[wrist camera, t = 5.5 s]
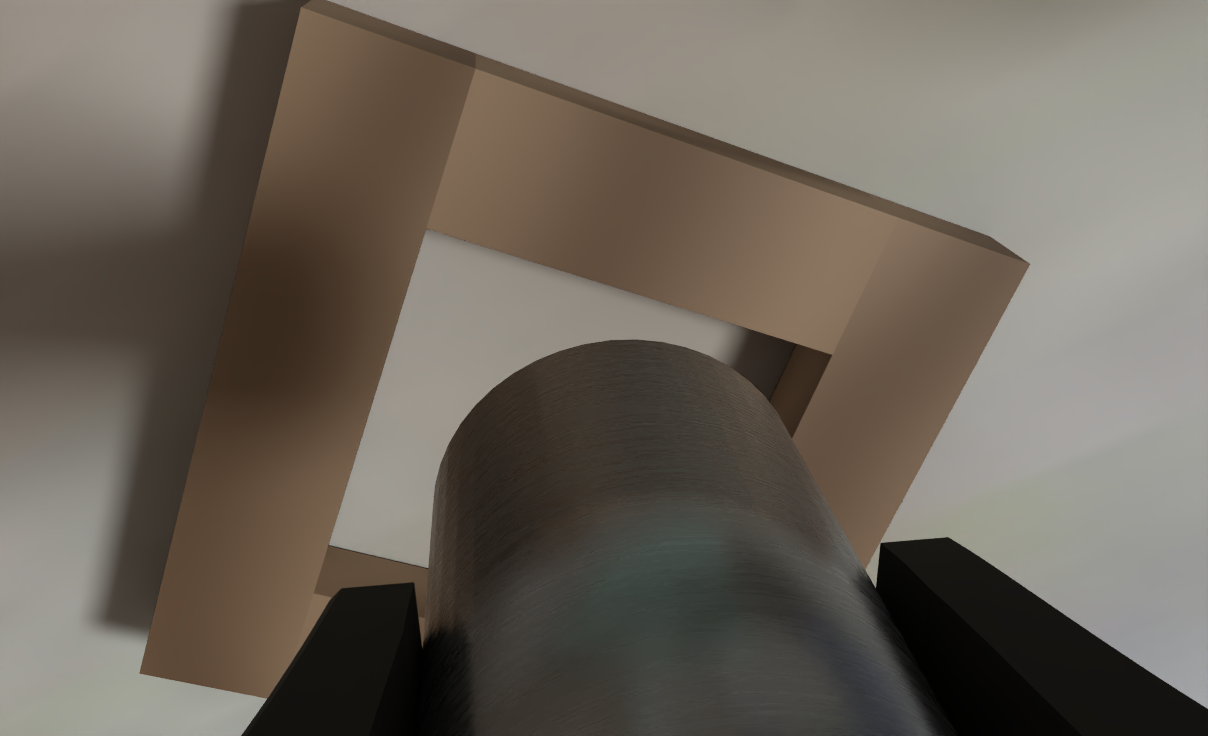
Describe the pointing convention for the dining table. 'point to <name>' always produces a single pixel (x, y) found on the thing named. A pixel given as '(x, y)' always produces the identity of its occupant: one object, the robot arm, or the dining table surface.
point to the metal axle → (649, 567)
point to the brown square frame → (552, 238)
